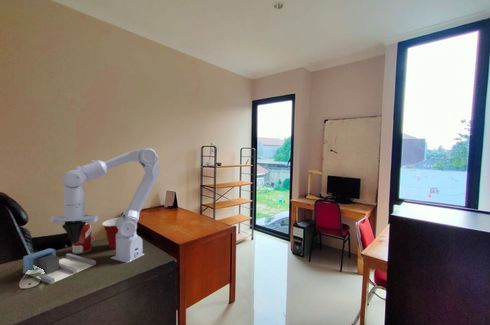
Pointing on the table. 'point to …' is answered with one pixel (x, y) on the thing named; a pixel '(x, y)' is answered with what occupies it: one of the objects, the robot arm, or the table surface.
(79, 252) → the soda can
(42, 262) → the grey rectangular block
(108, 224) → the plastic cup
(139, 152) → the robot arm
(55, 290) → the table surface
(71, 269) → the sliding block fixture
